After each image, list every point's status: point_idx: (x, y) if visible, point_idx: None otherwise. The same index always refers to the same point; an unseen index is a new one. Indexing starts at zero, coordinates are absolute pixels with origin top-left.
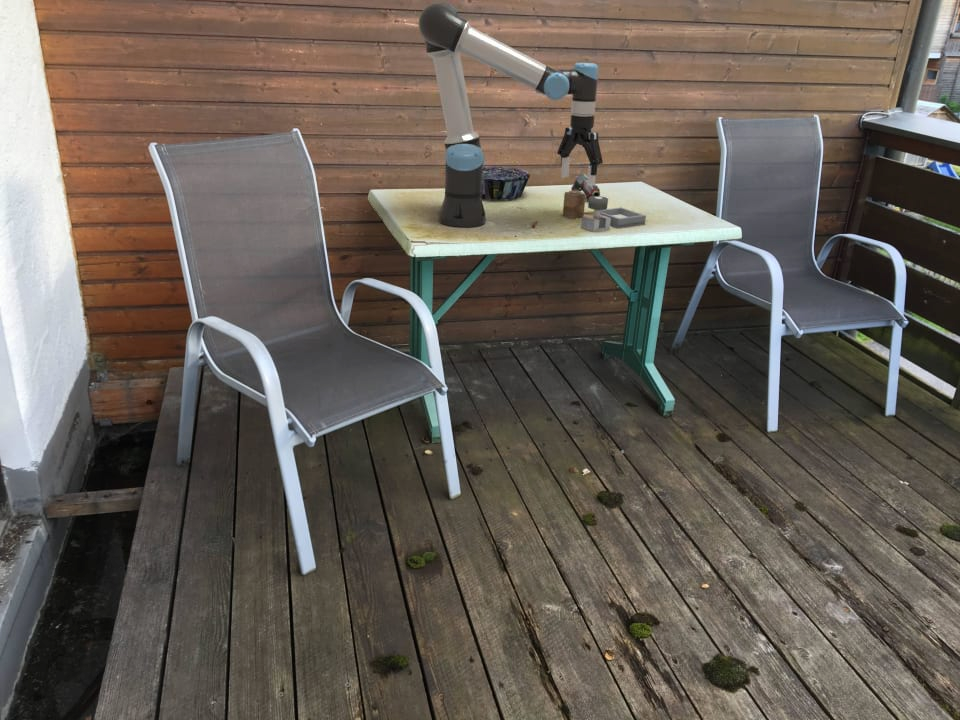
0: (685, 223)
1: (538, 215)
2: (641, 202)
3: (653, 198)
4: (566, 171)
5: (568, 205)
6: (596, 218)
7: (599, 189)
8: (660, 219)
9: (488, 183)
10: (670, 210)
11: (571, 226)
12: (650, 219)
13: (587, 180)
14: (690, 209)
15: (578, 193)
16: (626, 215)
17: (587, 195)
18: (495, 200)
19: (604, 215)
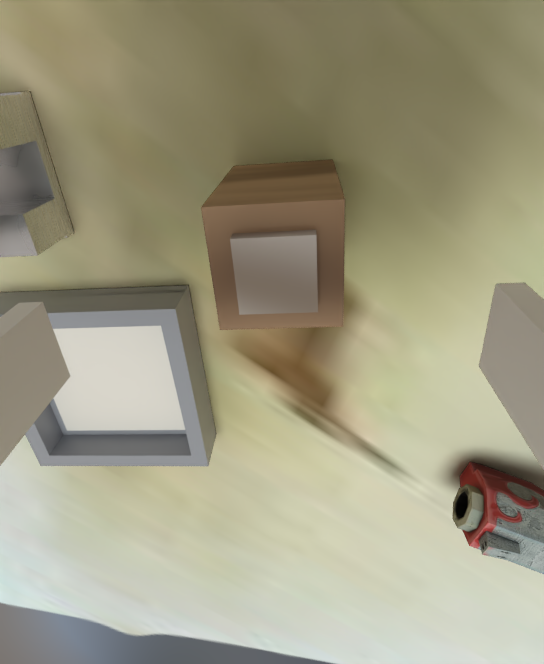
0: (62, 546)
1: None
2: (370, 598)
3: (395, 646)
4: (514, 377)
5: (276, 180)
6: (5, 210)
7: (468, 543)
8: (128, 518)
9: None
10: (234, 601)
11: (63, 36)
12: (135, 493)
13: (7, 327)
14: (226, 640)
15: (235, 278)
16: (156, 436)
17: (522, 488)
18: None
19: (88, 308)
